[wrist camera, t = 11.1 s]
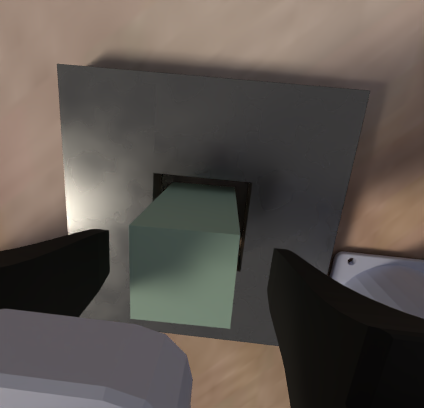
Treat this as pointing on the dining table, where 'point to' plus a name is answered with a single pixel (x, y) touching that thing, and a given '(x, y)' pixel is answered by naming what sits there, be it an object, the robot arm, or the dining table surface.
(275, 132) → the socket plate
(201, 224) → the green rectangular block
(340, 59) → the dining table surface
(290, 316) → the robot arm
